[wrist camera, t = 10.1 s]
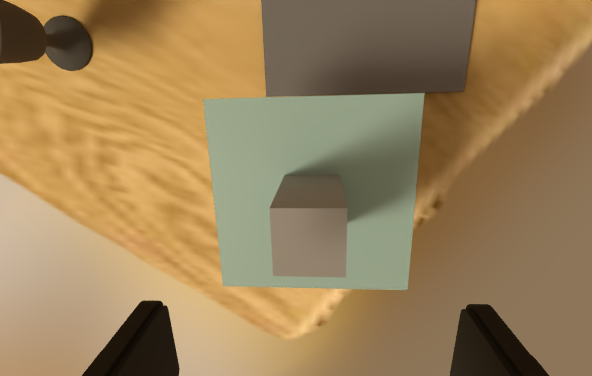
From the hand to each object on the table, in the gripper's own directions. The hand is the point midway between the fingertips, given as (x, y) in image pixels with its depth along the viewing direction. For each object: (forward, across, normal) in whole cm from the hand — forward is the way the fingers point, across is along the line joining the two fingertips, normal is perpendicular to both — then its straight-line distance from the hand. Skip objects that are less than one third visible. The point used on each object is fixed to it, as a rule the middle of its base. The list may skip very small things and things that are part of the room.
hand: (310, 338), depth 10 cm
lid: (+15, 0, +1) cm, 15 cm away
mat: (+24, -5, -16) cm, 30 cm away
